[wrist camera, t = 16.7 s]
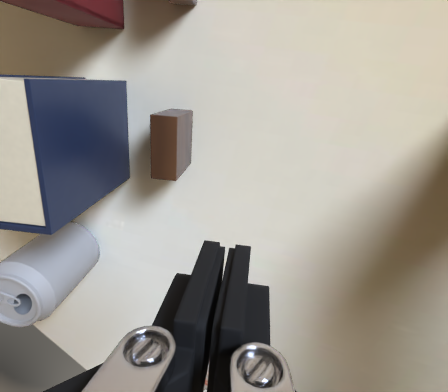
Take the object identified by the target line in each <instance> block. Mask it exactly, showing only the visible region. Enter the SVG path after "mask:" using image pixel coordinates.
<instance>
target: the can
mask: <svg viewBox="0 0 448 392" xmlns="http://www.w3.org/2000/svg"><path fill="white" fill-rule="evenodd" d="M99 255H100V250H99V245H98V243H97V240H96V238H95V237H94V236H93V235H92V233H91V232H90V231H89V230H87V229H86V228H85V227H83V226H81V225H79V224H76V223H74V222H69V223H67V224H66V225H65V226H63V227H62V228H61V229H59V230H58V231H56V232H55V233H54V234H52V235H47V234H40V235H39V236H37V237H36V238H34V239H33V240H32V241H30V242H29V243H27V244H26V245H24V246H23V247H22V248H20V249H19V250H17V251H16V252H14V253H13V254H11V255H10V256H9V257H7V258H6V259H4V260H3V261H1V262H0V321H1V322H2V323H5V324H8V325H10V326H16V327H25V326H30V325H31V324H33V323H35V322H36V321H41V320H43V319H45V318H47V317H49V316H50V315H51V314H52V312H53V311H54V310H55V309H56V308H57V307H58V306H59V305H60V304H61V302H62V301H63V300H64V299H65V298H66V297H67V296H68V295H69V293H70V292H71V291H72V290H73V289H74V288H75V287H76V286H77V285H78V283H79V282H80V281H81V280H82V279H83V278H84V277H85V276H86V274H87V273H88V272H89V271H90V270H91V269H92V268H93V267H94V265H95V264H96V263H97V262H98V259H99Z"/></svg>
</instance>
